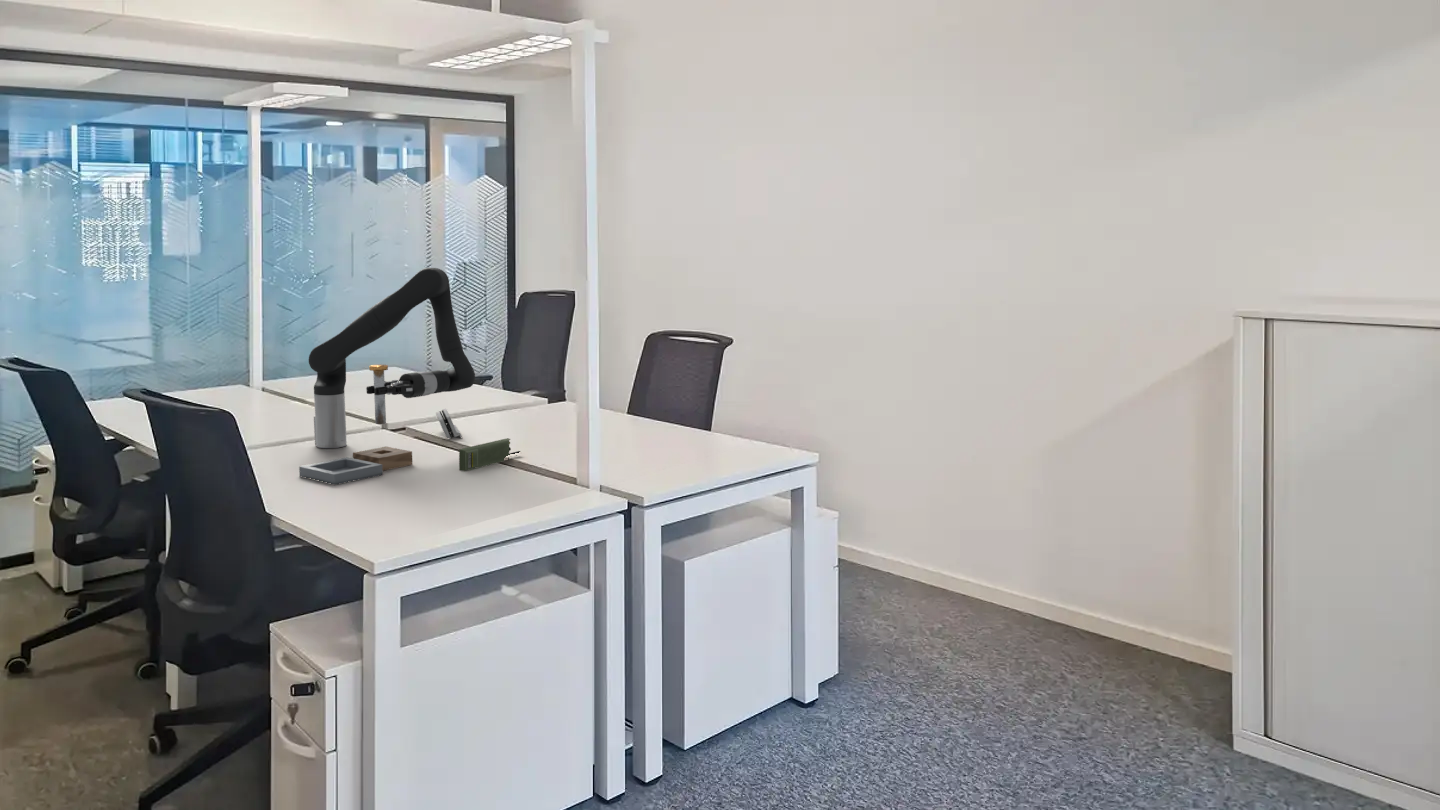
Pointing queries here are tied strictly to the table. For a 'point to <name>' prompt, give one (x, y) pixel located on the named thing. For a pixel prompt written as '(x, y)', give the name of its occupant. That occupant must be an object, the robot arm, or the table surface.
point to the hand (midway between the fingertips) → (371, 390)
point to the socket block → (386, 457)
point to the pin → (379, 399)
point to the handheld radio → (484, 454)
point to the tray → (341, 470)
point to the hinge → (449, 426)
